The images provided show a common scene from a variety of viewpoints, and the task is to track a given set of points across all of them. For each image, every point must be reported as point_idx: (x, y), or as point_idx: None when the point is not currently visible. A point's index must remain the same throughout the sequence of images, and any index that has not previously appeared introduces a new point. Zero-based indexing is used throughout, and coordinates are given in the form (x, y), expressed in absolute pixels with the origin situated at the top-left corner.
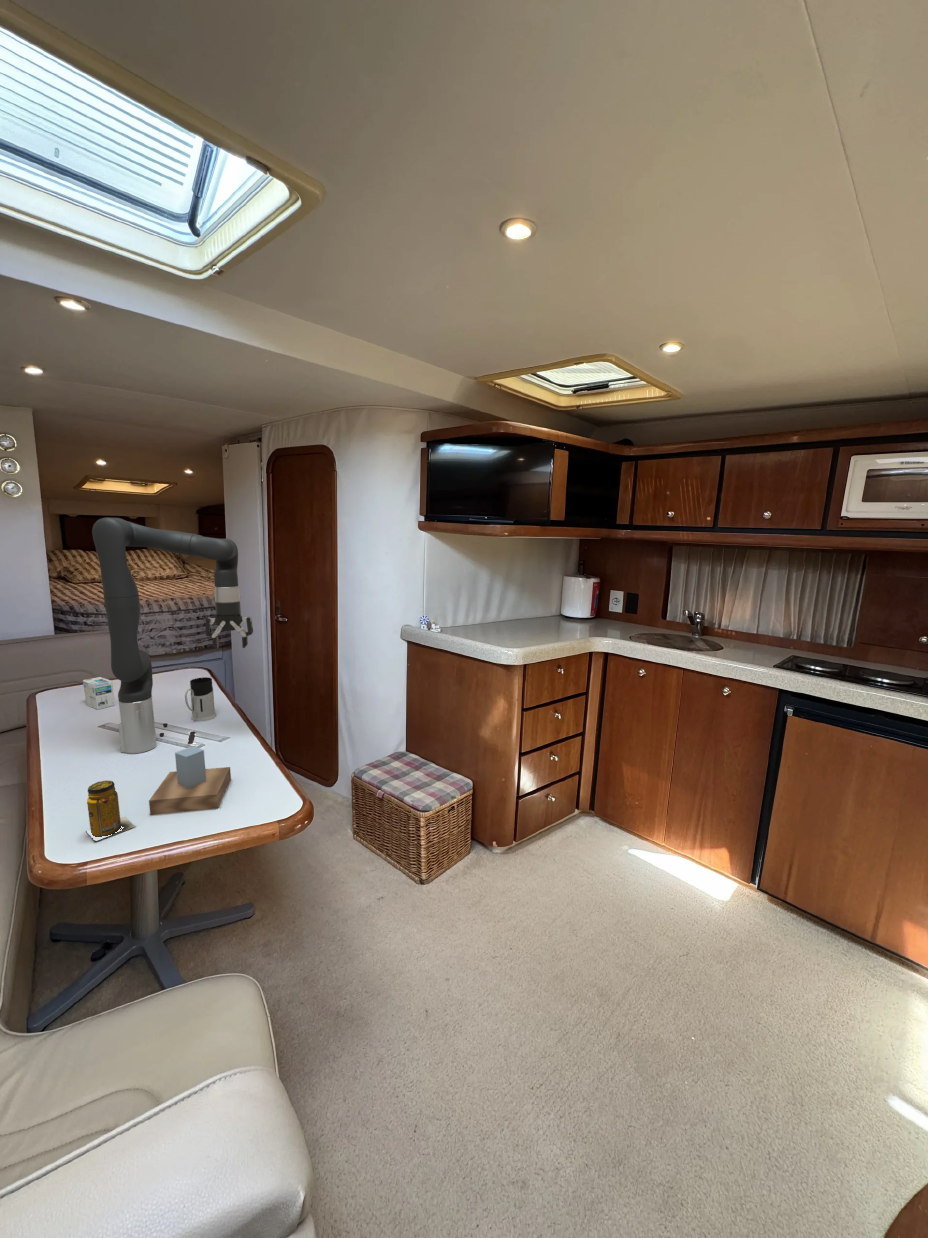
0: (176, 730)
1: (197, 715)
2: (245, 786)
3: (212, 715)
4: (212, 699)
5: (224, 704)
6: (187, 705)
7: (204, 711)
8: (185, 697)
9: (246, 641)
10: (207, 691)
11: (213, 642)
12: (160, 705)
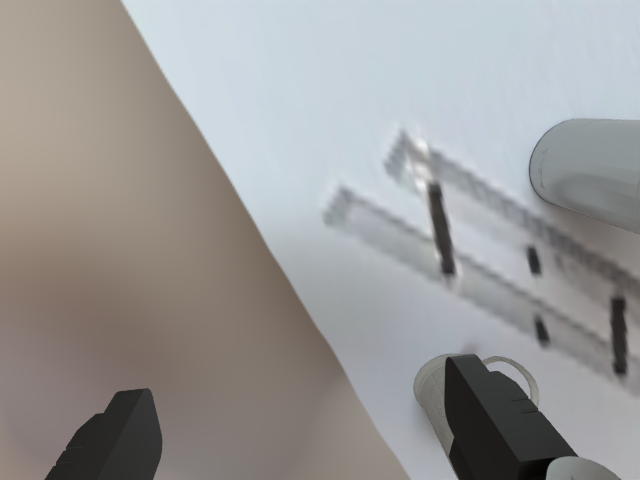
0: (501, 290)
1: None
2: None
3: (423, 381)
4: (438, 423)
5: (414, 476)
6: (506, 358)
7: None
8: (528, 373)
9: (56, 467)
10: None
11: (529, 414)
12: None
